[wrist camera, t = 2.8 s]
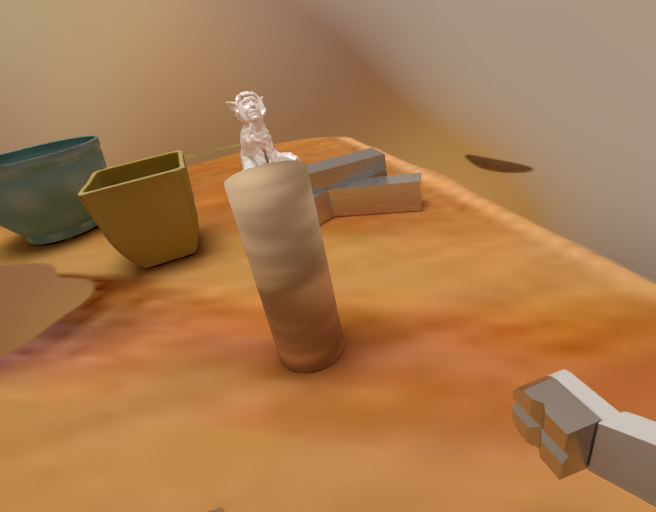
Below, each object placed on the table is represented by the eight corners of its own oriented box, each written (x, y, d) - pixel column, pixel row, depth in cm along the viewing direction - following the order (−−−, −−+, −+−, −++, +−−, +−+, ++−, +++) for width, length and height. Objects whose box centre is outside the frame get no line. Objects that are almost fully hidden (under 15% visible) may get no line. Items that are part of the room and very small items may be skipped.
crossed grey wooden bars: (253, 260, 35) (237, 209, 33) (245, 227, 42) (231, 184, 40) (433, 207, 38) (430, 157, 36) (397, 185, 45) (392, 142, 43)
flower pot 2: (217, 256, 37) (184, 165, 33) (122, 286, 35) (74, 194, 31) (209, 226, 45) (181, 148, 41) (131, 249, 43) (92, 171, 39)
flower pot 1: (134, 197, 62) (104, 128, 57) (127, 231, 48) (85, 144, 43) (23, 228, 58) (-21, 157, 53) (-20, 275, 44) (-85, 185, 39)
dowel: (286, 382, 22) (226, 197, 16) (274, 338, 25) (222, 174, 20) (353, 358, 22) (316, 173, 17) (333, 319, 26) (297, 155, 20)
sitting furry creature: (249, 188, 55) (223, 99, 49) (227, 179, 62) (202, 99, 56) (305, 167, 59) (287, 83, 54) (278, 161, 66) (259, 85, 60)
